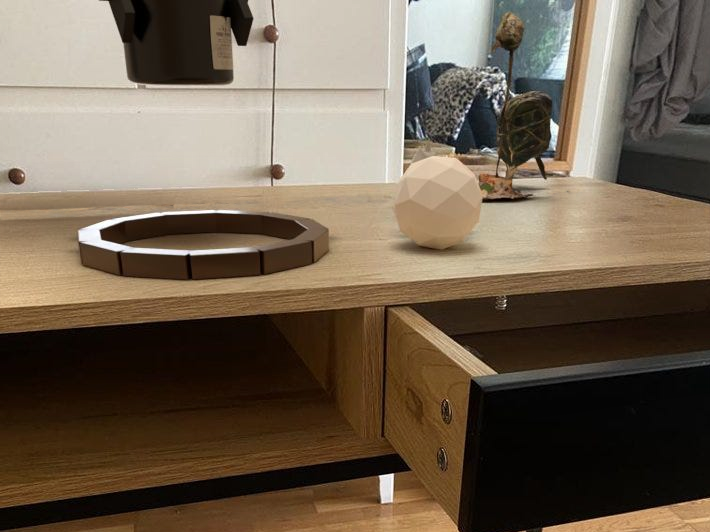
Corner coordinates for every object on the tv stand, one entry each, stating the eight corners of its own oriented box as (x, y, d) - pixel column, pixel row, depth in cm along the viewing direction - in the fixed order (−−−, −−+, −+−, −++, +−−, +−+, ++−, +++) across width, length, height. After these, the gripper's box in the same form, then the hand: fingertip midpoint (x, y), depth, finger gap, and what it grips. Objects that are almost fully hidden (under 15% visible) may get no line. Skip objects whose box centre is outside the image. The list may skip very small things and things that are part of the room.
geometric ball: (411, 278, 70) (360, 203, 68) (460, 235, 73) (413, 162, 71) (464, 248, 63) (409, 164, 61) (515, 202, 67) (464, 122, 65)
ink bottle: (249, 87, 63) (240, -94, 57) (141, 86, 59) (119, -106, 54) (215, 85, 70) (204, -75, 65) (118, 84, 67) (97, -84, 61)
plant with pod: (558, 202, 94) (582, 11, 84) (467, 202, 93) (481, 10, 83) (538, 193, 101) (558, 16, 91) (454, 193, 100) (465, 15, 90)
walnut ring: (83, 287, 55) (79, 262, 54) (79, 235, 72) (76, 215, 71) (356, 268, 61) (356, 245, 60) (292, 224, 78) (292, 206, 77)
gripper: (-30, -255, 57) (45, -21, 53) (240, -207, 67) (325, -5, 62) (-21, -150, 64) (46, 66, 59) (224, -120, 73) (299, 69, 68)
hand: (189, 30), depth 60 cm, fingers closed on ink bottle, 9 cm apart
